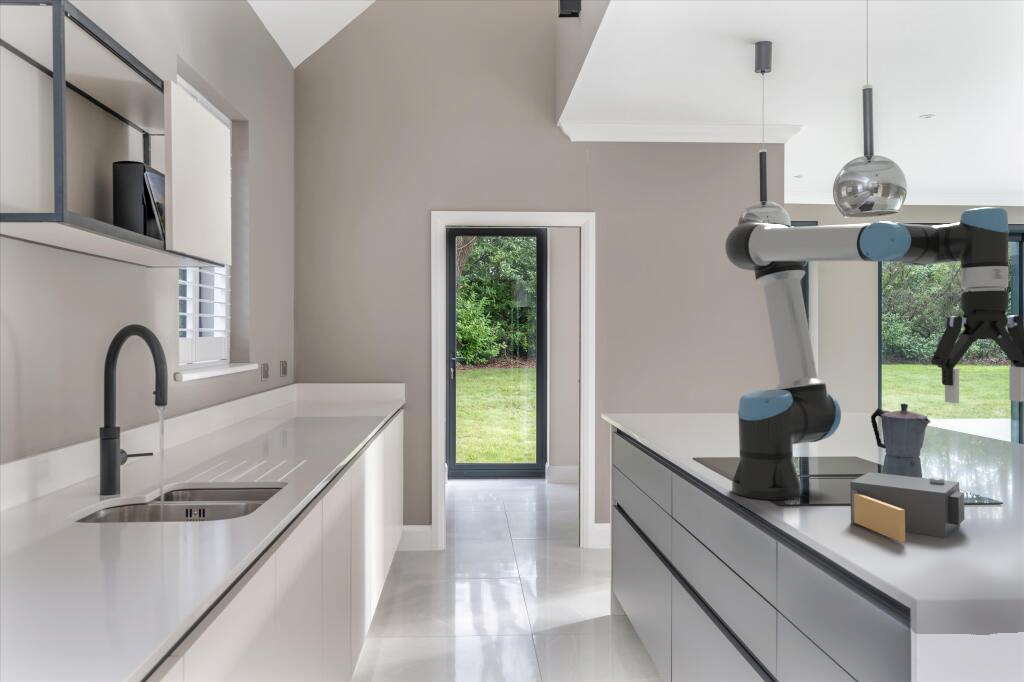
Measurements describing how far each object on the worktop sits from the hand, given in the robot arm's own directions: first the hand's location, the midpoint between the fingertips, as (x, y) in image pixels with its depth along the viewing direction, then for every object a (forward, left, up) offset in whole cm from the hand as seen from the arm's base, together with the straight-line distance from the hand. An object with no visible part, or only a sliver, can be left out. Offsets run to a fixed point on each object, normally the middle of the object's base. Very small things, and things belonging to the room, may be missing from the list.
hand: (984, 402), depth 136 cm
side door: (-14, -20, -23) cm, 34 cm away
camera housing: (-12, -9, -23) cm, 28 cm away
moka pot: (-21, +24, -24) cm, 39 cm away
